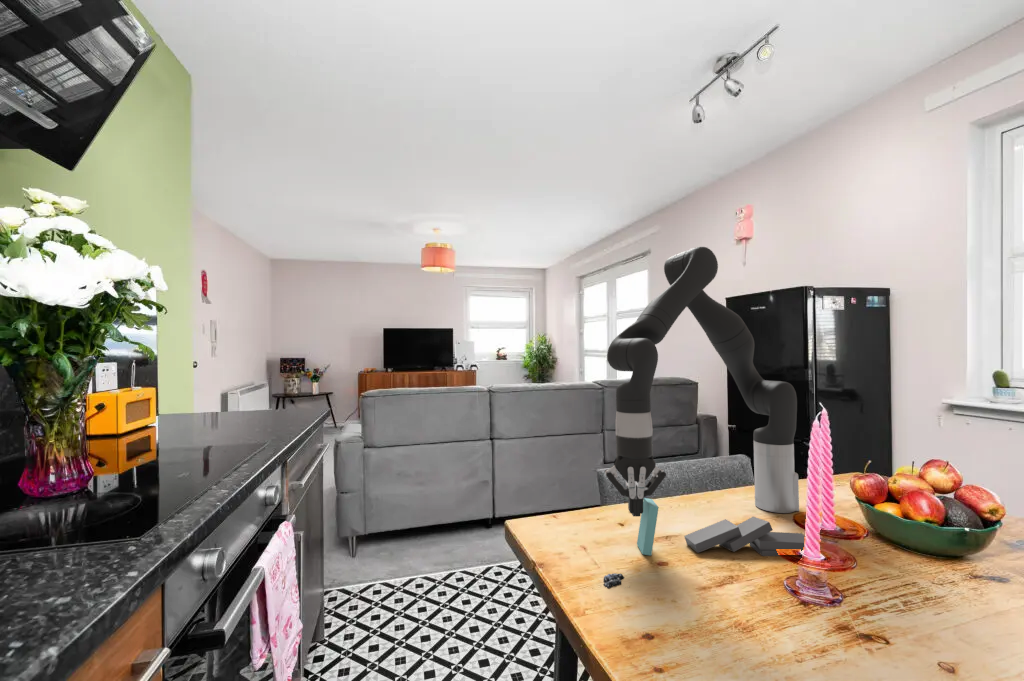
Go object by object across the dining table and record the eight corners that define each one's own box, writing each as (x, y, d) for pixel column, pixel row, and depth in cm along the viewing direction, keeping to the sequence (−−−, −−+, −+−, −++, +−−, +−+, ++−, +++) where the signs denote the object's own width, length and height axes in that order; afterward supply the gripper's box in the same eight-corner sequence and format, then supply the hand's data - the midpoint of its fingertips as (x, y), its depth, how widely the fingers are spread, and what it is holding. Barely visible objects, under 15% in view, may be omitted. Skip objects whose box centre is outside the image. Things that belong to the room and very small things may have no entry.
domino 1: (686, 543, 99) (728, 527, 100) (697, 552, 94) (741, 535, 95) (684, 535, 99) (725, 519, 100) (694, 544, 94) (738, 526, 95)
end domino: (645, 545, 99) (652, 499, 99) (651, 555, 94) (658, 507, 94) (636, 543, 99) (643, 497, 99) (642, 554, 94) (649, 505, 94)
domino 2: (719, 544, 99) (756, 524, 101) (733, 551, 94) (772, 530, 96) (715, 536, 99) (753, 516, 101) (730, 543, 94) (769, 521, 96)
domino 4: (751, 539, 99) (801, 541, 97) (759, 549, 94) (813, 552, 92) (751, 531, 99) (801, 533, 97) (759, 540, 94) (813, 543, 92)
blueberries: (640, 583, 85) (640, 572, 85) (624, 599, 78) (624, 587, 78) (606, 574, 88) (606, 563, 89) (588, 588, 82) (588, 577, 82)
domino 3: (749, 549, 98) (797, 548, 98) (762, 560, 93) (812, 559, 93) (749, 540, 98) (796, 540, 98) (762, 551, 93) (811, 550, 93)
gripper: (660, 429, 101) (662, 508, 100) (599, 429, 101) (601, 509, 101) (671, 435, 93) (673, 521, 93) (605, 436, 94) (607, 522, 93)
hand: (635, 515), depth 97 cm, fingers closed
